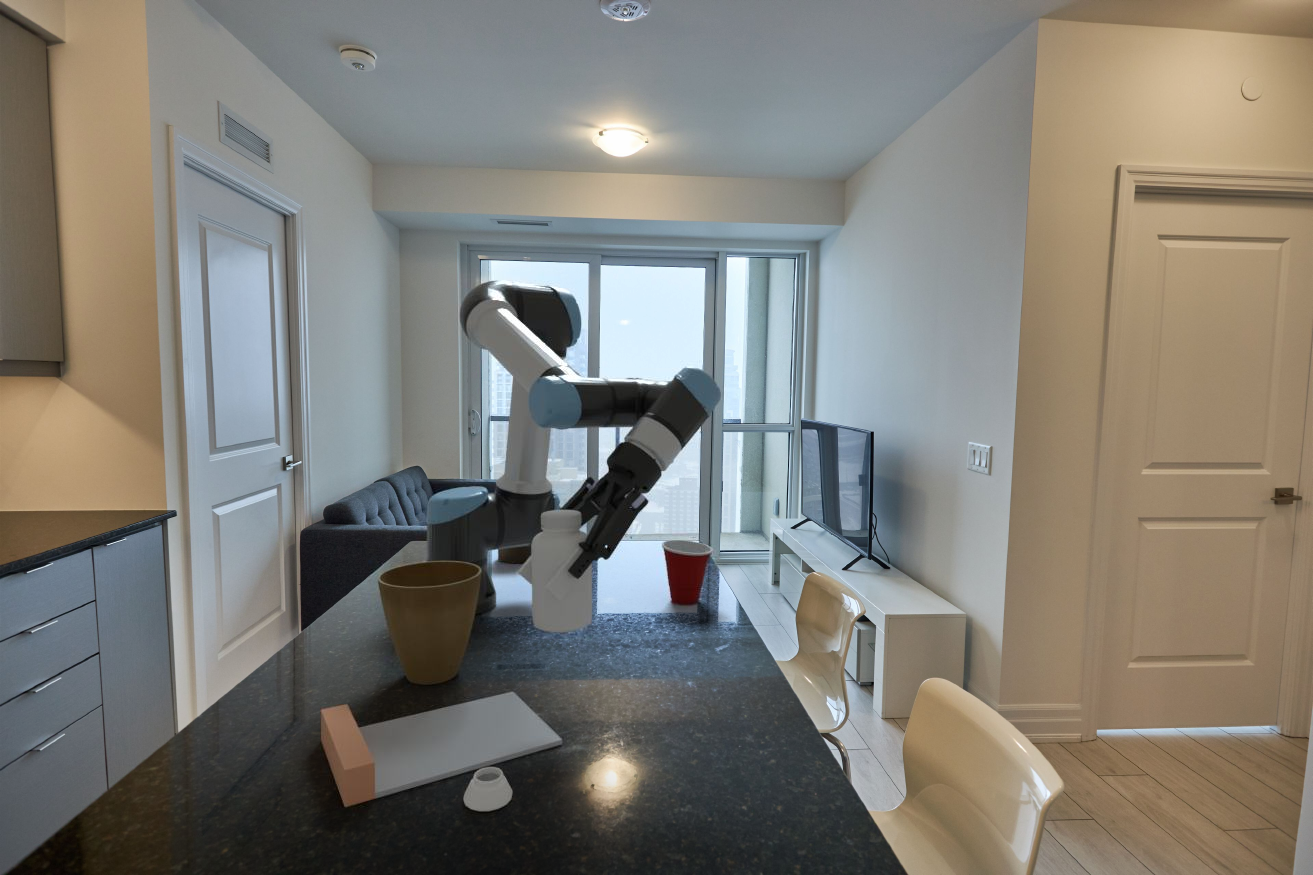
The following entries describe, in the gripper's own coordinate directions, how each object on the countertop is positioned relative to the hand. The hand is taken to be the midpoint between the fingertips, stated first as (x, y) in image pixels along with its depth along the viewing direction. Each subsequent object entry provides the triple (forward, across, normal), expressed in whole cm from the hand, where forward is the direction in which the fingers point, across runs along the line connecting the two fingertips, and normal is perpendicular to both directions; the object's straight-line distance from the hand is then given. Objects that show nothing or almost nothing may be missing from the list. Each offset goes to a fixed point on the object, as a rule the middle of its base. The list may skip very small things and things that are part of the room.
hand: (538, 585), depth 91 cm
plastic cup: (-21, +32, -48) cm, 61 cm away
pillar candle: (-9, +82, -36) cm, 91 cm away
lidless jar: (+22, -13, -4) cm, 26 cm away
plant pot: (+18, +22, -8) cm, 30 cm away
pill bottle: (+2, 0, -6) cm, 7 cm away
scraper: (+22, +1, -4) cm, 22 cm away
